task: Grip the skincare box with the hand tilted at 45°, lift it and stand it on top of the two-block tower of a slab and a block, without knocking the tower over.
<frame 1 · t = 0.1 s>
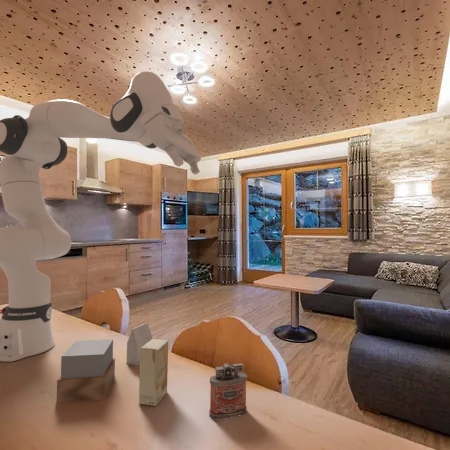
hand: (188, 169, 73), 54 cm above the table, tool tilted 30°, fingers open, 8 cm apart
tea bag: (139, 360, 84), on the table
tower base block: (87, 389, 68), on the table
skincare box: (153, 398, 65), on the table
tower top block: (88, 368, 68), point 5 cm above the table
lighter: (228, 414, 59), on the table
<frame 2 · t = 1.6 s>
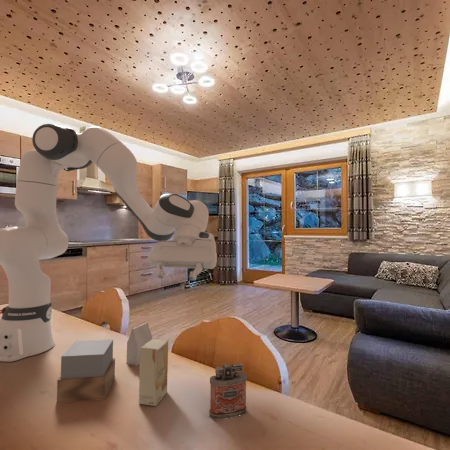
hand: (175, 277, 77), 25 cm above the table, tool tilted 45°, fingers open, 8 cm apart
tower base block: (88, 389, 68), on the table, touching tower top block
tower top block: (88, 368, 68), point 5 cm above the table, touching tower base block
everything else where it was.
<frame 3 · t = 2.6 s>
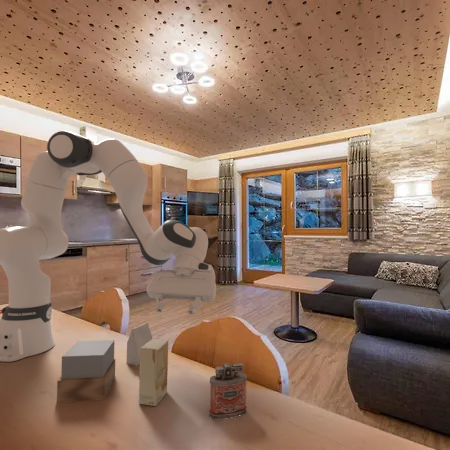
hand: (174, 311, 77), 16 cm above the table, tool tilted 45°, fingers open, 8 cm apart
nothing on the table moved.
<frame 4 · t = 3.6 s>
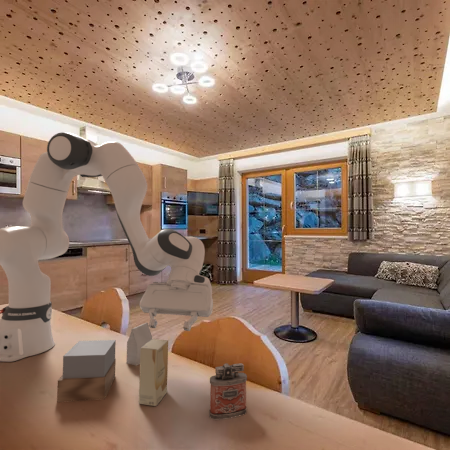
hand: (169, 328, 73), 13 cm above the table, tool tilted 45°, fingers open, 8 cm apart
tower base block: (88, 389, 68), on the table
tower top block: (90, 368, 68), point 5 cm above the table
everything else where it was.
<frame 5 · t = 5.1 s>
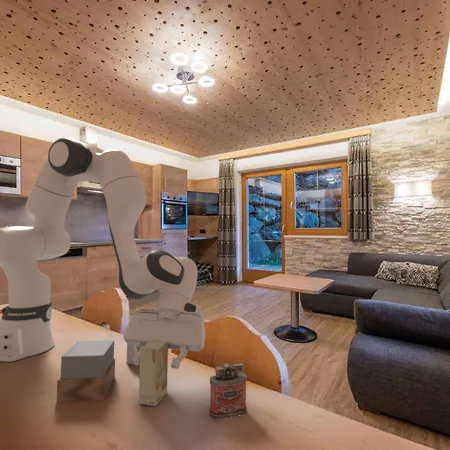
hand: (155, 365, 65), 7 cm above the table, tool tilted 45°, fingers open, 8 cm apart
tower base block: (88, 389, 68), on the table, touching tower top block
tower top block: (89, 368, 68), point 5 cm above the table, touching tower base block
everything else where it was.
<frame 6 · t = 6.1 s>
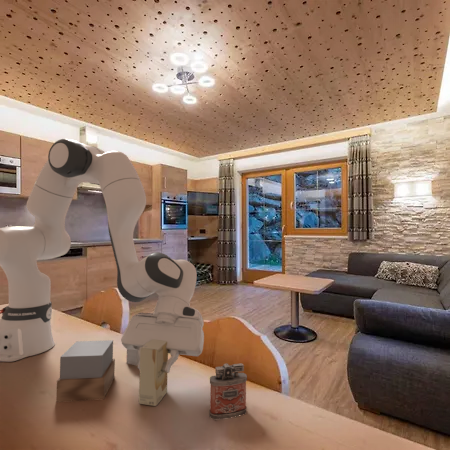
hand: (153, 370, 64), 6 cm above the table, tool tilted 45°, fingers closed on skincare box, 4 cm apart
skincare box: (153, 398, 65), on the table, touching gripper
everything else where it was.
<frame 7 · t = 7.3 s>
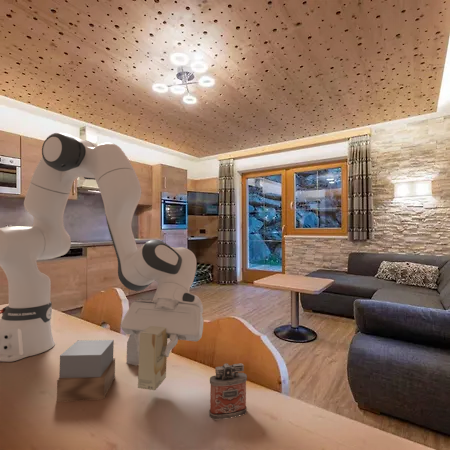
hand: (152, 354, 64), 10 cm above the table, tool tilted 45°, fingers closed on skincare box, 4 cm apart
tower base block: (88, 389, 68), on the table
skincare box: (152, 383, 65), point 3 cm above the table, touching gripper
tower top block: (88, 368, 68), point 5 cm above the table
everything else where it was.
when the fingers open (18 cm above the table, at t = 12.1 s): skincare box drops 2 cm, resting on tower top block.
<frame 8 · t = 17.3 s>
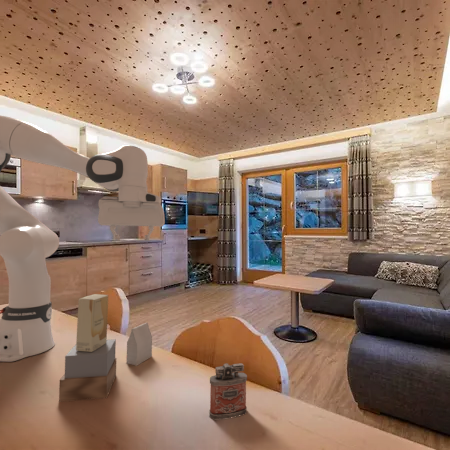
hand: (132, 240, 90), 35 cm above the table, tool pointing down, fingers open, 8 cm apart
tower base block: (89, 388, 68), on the table, touching tower top block
skincare box: (92, 347, 69), point 9 cm above the table, touching tower top block
tower top block: (91, 367, 69), point 5 cm above the table, touching skincare box, tower base block
everything else where it was.
at the end: skincare box 0.1 cm off-centre on the tower top block, point 4.8 cm above the tower top block's base; skincare box tilted 1°; tower top block moved 0.9 cm from its start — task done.
